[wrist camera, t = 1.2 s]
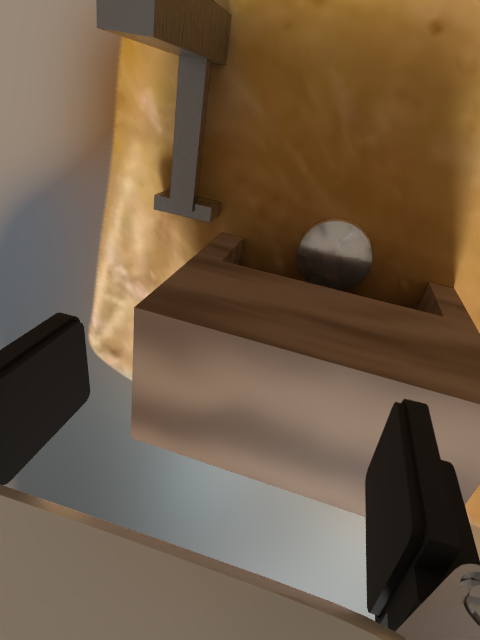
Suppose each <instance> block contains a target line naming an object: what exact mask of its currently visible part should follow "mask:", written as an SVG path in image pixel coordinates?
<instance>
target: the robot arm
mask: <svg viewBox="0 0 480 640" xmlns="http://www.w3.org/2000/svg"><path fill="white" fill-rule="evenodd" d="M89 394H90V385H89V374H88V364H87V354H86V344H85V333H84V326H83V324H82V323H80V320H79V318H77V317H75V316H71V315H67V314H63V313H57V314H55V315H53V316H52V317H50V318H49V319H47V320H46V321H44V322H43V323H41V324H39V325H38V326H36V327H35V328H34V329H32V330H30V331H29V332H27V333H26V334H24V335H23V336H22V337H20V338H18V339H17V340H15V341H13V342H12V343H10V344H9V345H7V346H6V347H4V348H3V349H2V350H0V640H480V561H479V557H478V553H477V549H476V546H475V542H474V538H473V534H472V531H471V527H470V523H469V520H468V516H467V512H466V508H465V505H464V501H463V497H462V494H461V490H460V486H459V483H458V479H457V475H456V471H455V469H454V466H453V465H452V463H451V462H448V461H444V460H441V458H440V454H439V450H438V445H437V441H436V437H435V433H434V429H433V424H432V420H431V416H430V412H429V407H428V405H427V404H425V403H421V402H417V401H413V400H409V399H403V401H402V402H401V403H398V402H395V403H394V404H393V406H392V409H391V411H390V414H389V416H388V419H387V422H386V424H385V427H384V429H383V432H382V434H381V437H380V439H379V442H378V444H377V447H376V449H375V452H374V454H373V457H372V459H371V462H370V464H369V467H368V470H367V473H366V479H365V505H366V566H367V567H366V568H367V608H368V612H369V613H372V614H375V621H373V620H372V619H369V618H368V617H365V616H363V615H361V614H358V613H356V612H354V611H352V610H349V609H347V608H344V607H342V606H340V605H337V604H335V603H333V602H330V601H328V600H325V599H322V598H320V597H317V596H314V595H312V594H309V593H306V592H304V591H301V590H298V589H296V588H293V587H290V586H288V585H285V584H282V583H280V582H277V581H274V580H272V579H269V578H266V577H263V576H260V575H258V574H255V573H252V572H249V571H247V570H244V569H241V568H238V567H235V566H232V565H229V564H227V563H224V562H221V561H218V560H215V559H213V558H210V557H207V556H204V555H201V554H199V553H196V552H193V551H190V550H187V549H184V548H181V547H179V546H176V545H173V544H170V543H167V542H165V541H162V540H159V539H156V538H153V537H150V536H147V535H144V534H142V533H139V532H136V531H133V530H130V529H127V528H124V527H122V526H119V525H116V524H113V523H110V522H107V521H104V520H102V519H99V518H96V517H93V516H90V515H87V514H84V513H81V512H78V511H75V510H72V509H70V508H67V507H64V506H61V505H58V504H55V503H52V502H50V501H47V500H44V499H41V498H38V497H35V496H32V495H29V494H26V493H23V492H20V491H17V490H14V489H11V488H8V487H6V486H3V485H5V484H7V483H8V482H9V481H11V480H12V479H13V478H14V477H15V476H16V474H17V473H18V472H19V471H20V470H21V469H22V468H23V467H24V466H25V465H26V464H27V463H28V462H29V461H30V460H31V459H32V458H33V456H35V454H37V452H38V451H39V450H40V449H41V448H42V447H43V446H44V445H45V444H46V443H47V442H48V441H49V440H50V439H51V438H52V437H53V436H54V435H55V434H56V433H57V432H58V430H59V429H60V428H61V427H62V426H63V425H64V424H65V423H66V422H67V421H68V420H69V419H70V418H71V417H72V416H73V415H74V413H76V412H77V411H78V409H79V408H80V407H81V406H82V405H83V404H84V403H85V402H86V401H87V399H88V397H89Z"/></svg>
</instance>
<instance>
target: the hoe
mask: <svg viewBox="0 0 480 640" xmlns="http://www.w3.org/2000/svg"><path fill="white" fill-rule="evenodd" d="M230 24H231V14H229V13H228V12H227V11H226V10H224V9H223V8H222V7H221V6H219V5H218V4H217V3H216V2H214V1H213V0H97V28H99V29H102V30H105V31H108V32H111V33H114V34H116V35H119V36H122V37H125V38H128V39H131V40H134V41H137V42H140V43H143V44H146V45H149V46H152V47H155V48H158V49H161V50H163V51H166V52H169V53H172V54H175V55H178V56H179V71H178V86H177V101H176V116H175V131H174V145H173V160H172V175H171V190H166V191H163V192H160V193H158V194H155V196H154V209H155V210H159V211H164V212H168V213H172V214H176V215H181V216H185V217H189V218H193V219H197V220H202V221H206V222H211V221H212V220H214V219H215V218H217V217H218V216H219V212H220V204H221V202H218V201H214V200H209V199H205V198H201V197H198V189H199V179H200V169H201V160H202V150H203V140H204V130H205V120H206V110H207V101H208V91H209V81H210V71H211V63H215V64H221V65H226V58H227V49H228V41H229V32H230Z"/></svg>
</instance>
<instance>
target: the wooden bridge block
mask: <svg viewBox="0 0 480 640" xmlns="http://www.w3.org/2000/svg"><path fill="white" fill-rule="evenodd" d="M242 244H243V237H239V236H234V235H230V234H226V233H221V234H220V235H219V236H218V237H216V238H215V239H214V240H213V241H212V242H211V243H209V244H208V245H207V246H206V247H205V248H203V249H202V250H201V251H200V252H199V253H198V254H196V255H195V256H194V257H193V258H192V259H191V260H189V261H188V262H187V263H186V264H185V265H184V266H182V267H181V268H180V269H179V270H178V271H176V272H175V273H174V274H173V275H172V276H171V277H169V278H168V279H167V280H166V281H165V282H164V283H162V284H161V285H160V286H159V287H158V288H157V289H155V290H154V291H153V292H152V293H151V294H149V295H148V296H147V297H146V298H145V299H144V300H142V301H141V302H140V303H139V304H138V305H137V306H135V307H134V341H133V379H132V416H131V419H132V420H131V438H133V439H136V440H139V441H142V442H145V443H148V444H151V445H154V446H157V447H160V448H163V449H166V450H169V451H172V452H175V453H178V454H181V455H184V456H187V457H190V458H193V459H196V460H198V461H201V462H204V463H207V464H210V465H213V466H216V467H219V468H222V469H225V470H228V471H231V472H234V473H237V474H240V475H243V476H246V477H249V478H252V479H255V480H258V481H261V482H264V483H267V484H270V485H273V486H276V487H279V488H282V489H284V490H287V491H290V492H293V493H297V494H300V495H302V496H305V497H309V498H311V499H314V500H317V501H320V502H323V503H326V504H329V505H332V506H335V507H338V508H341V509H344V510H347V511H350V512H353V513H356V514H359V515H362V516H365V517H366V505H365V479H366V473H367V470H368V467H369V464H370V462H371V459H372V457H373V454H374V452H375V449H376V447H377V444H378V442H379V439H380V437H381V434H382V432H383V429H384V427H385V424H386V422H387V419H388V416H389V414H390V411H391V409H392V406H393V404H394V403H395V402H398V403H401V402H402V401H403V399H409V400H413V401H417V402H421V403H425V404H427V405H428V407H429V412H430V416H431V420H432V424H433V429H434V433H435V437H436V441H437V445H438V450H439V454H440V458H441V460H444V461H448V462H451V463H452V465H453V466H454V469H455V471H456V475H457V479H458V483H459V486H460V490H461V494H462V497H463V501H464V505H465V504H466V503H467V501H468V500H469V498H470V497H471V495H472V494H473V493H474V491H475V490H476V488H477V487H478V486H479V484H480V334H479V332H478V330H477V328H476V326H475V325H474V323H473V321H472V319H471V317H470V316H469V314H468V312H467V310H466V309H465V307H464V305H463V303H462V301H461V300H460V298H459V296H458V294H457V292H456V291H455V289H454V288H451V287H447V286H443V285H439V284H434V283H430V282H429V283H428V286H427V288H426V290H425V293H424V295H423V297H422V299H421V302H420V304H419V306H418V309H417V310H415V309H411V308H407V307H403V306H399V305H395V304H391V303H387V302H383V301H379V300H375V299H371V298H367V297H363V296H359V295H355V294H351V293H347V292H343V291H339V290H335V289H331V288H327V287H323V286H319V285H315V284H311V283H307V282H304V281H300V280H296V279H292V278H288V277H284V276H280V275H276V274H272V273H268V272H264V271H260V270H256V269H252V268H248V267H244V266H240V265H239V262H240V256H241V250H242Z"/></svg>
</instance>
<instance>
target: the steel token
mask: <svg viewBox="0 0 480 640" xmlns="http://www.w3.org/2000/svg"><path fill="white" fill-rule="evenodd" d="M297 263H298V267H299V270H300V272H301V274H302V276H303V277H304V279H305V280H306V281H307V282H308V283H311V284H315V285H319V286H323V287H327V288H331V289H335V290H339V291H345V290H348V289H350V288H353V287H354V286H356V285H357V284H359V283H360V282H361V281H362V280H363V279H364V278H365V276H366V275H367V273H368V272H369V269H370V267H371V263H372V247H371V242H370V239H369V237H368V235H367V234H366V232H365V231H364V230H363V229H362V228H361V227H360V226H359V225H358V224H356V223H355V222H353V221H350V220H347V219H343V218H329V219H325V220H322V221H320V222H318V223H316V224H315V225H313V226H312V227H311V228H310V229H309V230H308V231H307V232H306V233H305V235H304V237H303V239H302V241H301V243H300V245H299V248H298V253H297Z"/></svg>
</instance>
